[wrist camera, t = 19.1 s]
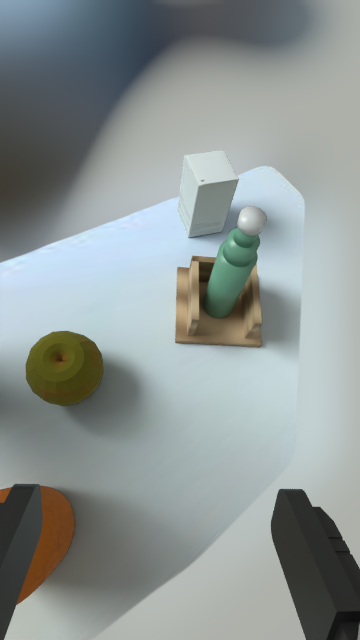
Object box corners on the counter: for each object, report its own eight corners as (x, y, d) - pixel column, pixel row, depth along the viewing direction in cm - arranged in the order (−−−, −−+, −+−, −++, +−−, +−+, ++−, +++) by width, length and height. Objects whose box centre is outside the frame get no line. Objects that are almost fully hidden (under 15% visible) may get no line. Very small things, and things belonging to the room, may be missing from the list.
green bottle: (196, 304, 55) (221, 214, 36) (216, 286, 57) (249, 192, 38) (219, 324, 54) (257, 242, 35) (238, 305, 56) (285, 217, 37)
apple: (28, 367, 49) (-1, 340, 39) (87, 335, 52) (74, 303, 42) (57, 425, 46) (34, 412, 36) (118, 388, 49) (112, 366, 39)
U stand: (177, 270, 59) (181, 245, 53) (252, 275, 60) (265, 252, 54) (175, 342, 53) (179, 324, 47) (259, 347, 54) (274, 330, 48)
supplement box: (223, 232, 64) (240, 179, 53) (187, 238, 62) (197, 186, 51) (210, 204, 67) (224, 148, 55) (176, 209, 65) (183, 153, 54)
